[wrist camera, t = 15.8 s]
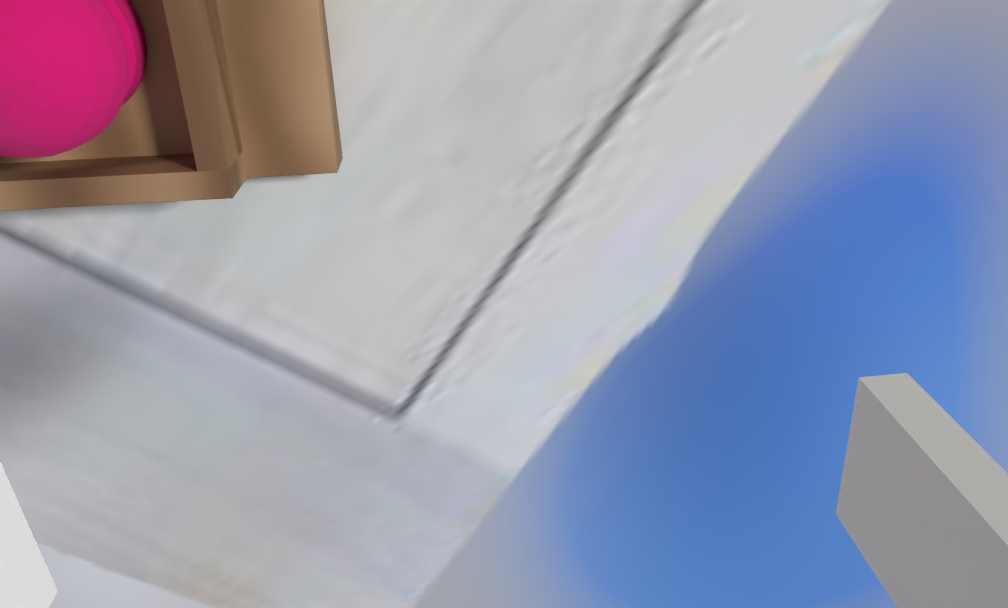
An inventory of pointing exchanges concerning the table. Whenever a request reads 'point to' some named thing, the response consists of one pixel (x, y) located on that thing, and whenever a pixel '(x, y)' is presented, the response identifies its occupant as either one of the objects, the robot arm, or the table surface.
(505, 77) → the table surface
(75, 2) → the pepper mill
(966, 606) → the robot arm
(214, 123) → the wooden condiment caddy
